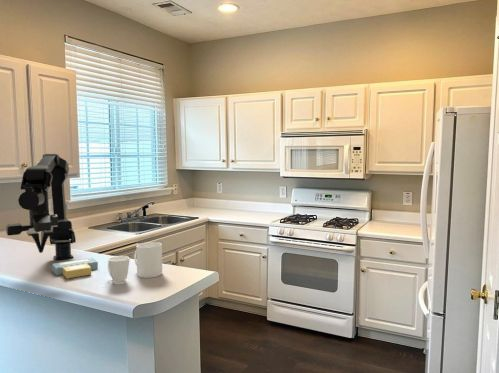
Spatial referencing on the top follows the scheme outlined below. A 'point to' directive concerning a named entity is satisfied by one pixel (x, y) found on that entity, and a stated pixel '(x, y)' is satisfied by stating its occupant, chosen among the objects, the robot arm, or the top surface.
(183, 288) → the top surface
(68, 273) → the yellow box
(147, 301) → the top surface
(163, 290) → the top surface
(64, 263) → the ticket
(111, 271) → the cup
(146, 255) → the mug
